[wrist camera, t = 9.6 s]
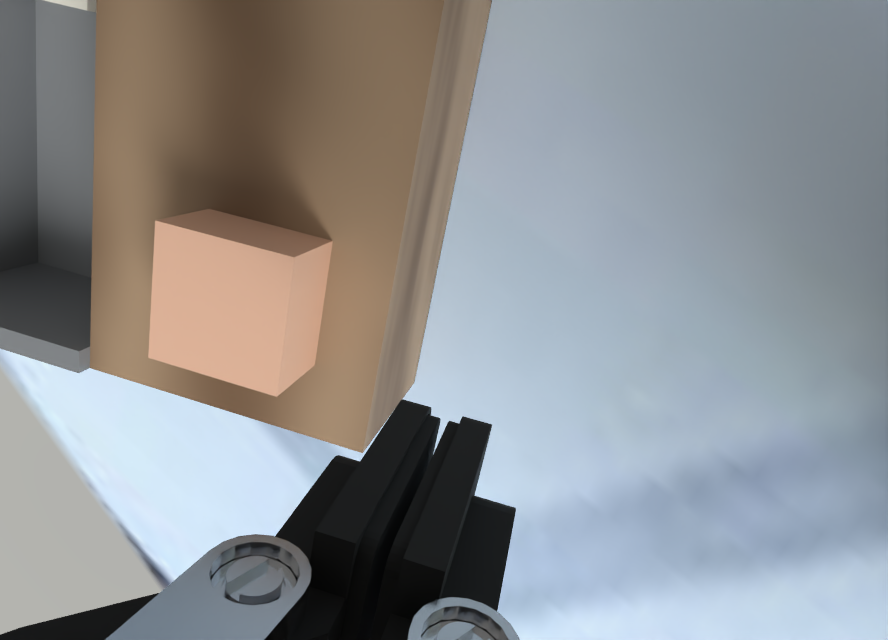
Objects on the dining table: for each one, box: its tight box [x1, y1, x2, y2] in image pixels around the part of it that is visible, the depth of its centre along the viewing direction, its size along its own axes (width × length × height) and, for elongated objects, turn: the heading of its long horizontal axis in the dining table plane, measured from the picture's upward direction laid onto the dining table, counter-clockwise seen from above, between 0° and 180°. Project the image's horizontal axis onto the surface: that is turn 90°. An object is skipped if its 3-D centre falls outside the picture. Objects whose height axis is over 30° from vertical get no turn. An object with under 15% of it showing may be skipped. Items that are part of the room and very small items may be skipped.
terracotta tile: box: [148, 209, 333, 397], centre depth 19 cm, size 4×4×2 cm
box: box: [0, 0, 96, 373], centre depth 22 cm, size 8×18×6 cm, turn 169°
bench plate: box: [90, 0, 492, 453], centre depth 21 cm, size 10×18×6 cm, turn 169°
